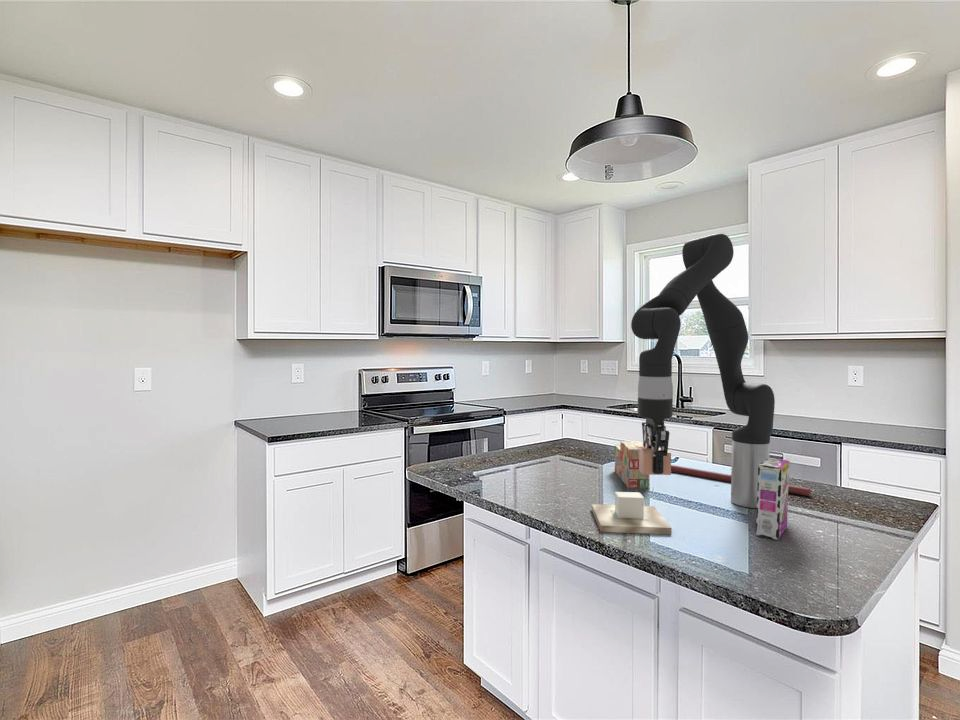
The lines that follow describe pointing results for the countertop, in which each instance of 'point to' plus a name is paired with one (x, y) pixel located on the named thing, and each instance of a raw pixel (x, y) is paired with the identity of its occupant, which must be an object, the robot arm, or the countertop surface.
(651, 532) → the ash board
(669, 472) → the terracotta brick
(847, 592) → the countertop surface
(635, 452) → the stack of blocks
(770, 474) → the candy bar box
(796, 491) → the rolling pin
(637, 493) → the cream brick
